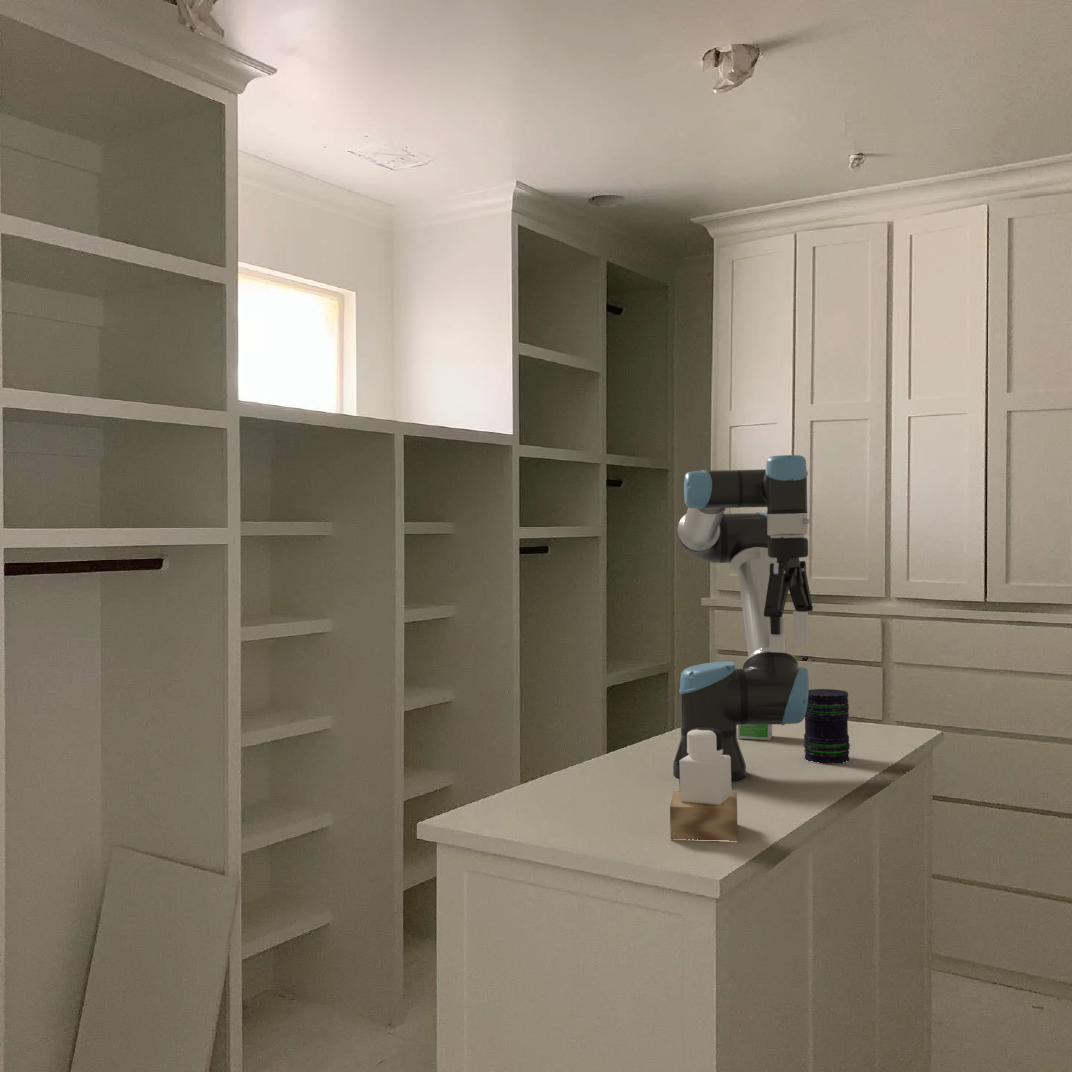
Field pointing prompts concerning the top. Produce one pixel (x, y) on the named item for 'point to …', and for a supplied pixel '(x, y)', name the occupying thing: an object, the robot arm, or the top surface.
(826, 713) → the storage jar
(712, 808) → the oak box
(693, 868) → the top surface
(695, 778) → the medicine bottle
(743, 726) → the skincare box
